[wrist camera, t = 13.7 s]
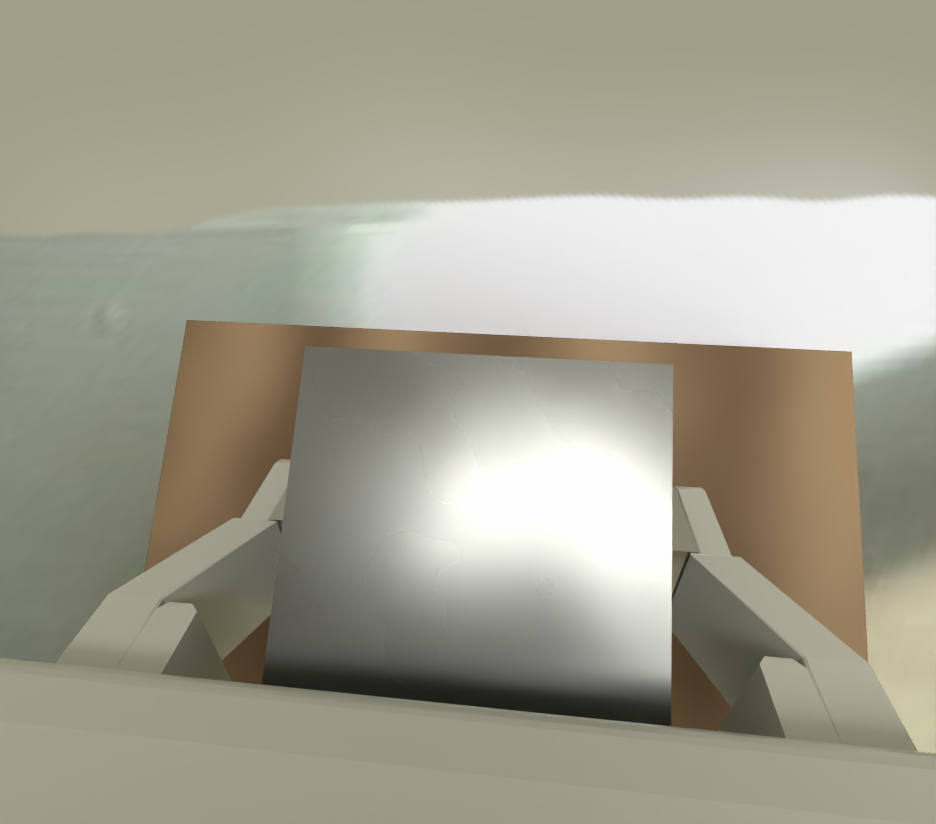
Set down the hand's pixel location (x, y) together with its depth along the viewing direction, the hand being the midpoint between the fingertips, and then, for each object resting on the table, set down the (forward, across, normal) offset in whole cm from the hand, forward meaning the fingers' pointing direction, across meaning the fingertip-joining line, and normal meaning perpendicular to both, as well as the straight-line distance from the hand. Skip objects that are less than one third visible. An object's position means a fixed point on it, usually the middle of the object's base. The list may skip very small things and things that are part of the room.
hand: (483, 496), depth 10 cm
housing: (+3, 0, +4) cm, 4 cm away
